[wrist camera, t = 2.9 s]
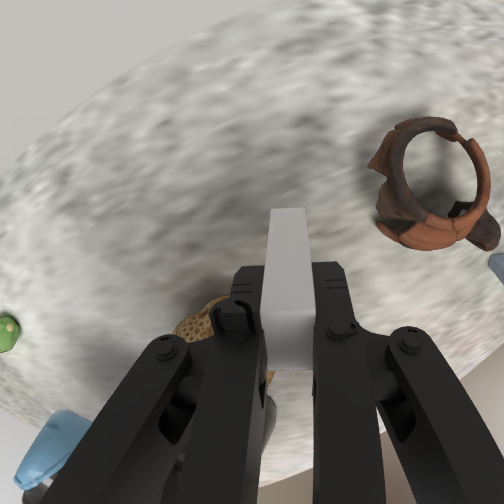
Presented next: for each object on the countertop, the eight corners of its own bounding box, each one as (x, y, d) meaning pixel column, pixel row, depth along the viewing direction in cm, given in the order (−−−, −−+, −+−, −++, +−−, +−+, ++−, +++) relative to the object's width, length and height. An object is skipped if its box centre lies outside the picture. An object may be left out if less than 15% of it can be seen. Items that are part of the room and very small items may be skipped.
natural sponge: (210, 351, 33) (192, 429, 25) (167, 292, 29) (130, 374, 21) (288, 333, 31) (287, 420, 22) (253, 265, 26) (240, 357, 18)
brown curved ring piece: (338, 221, 24) (355, 209, 16) (377, 122, 23) (402, 76, 15) (456, 280, 23) (508, 293, 14) (486, 185, 22) (539, 167, 14)
